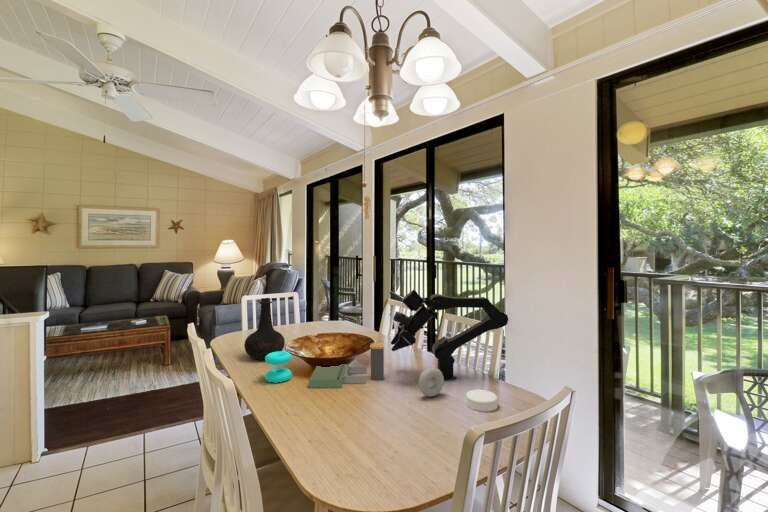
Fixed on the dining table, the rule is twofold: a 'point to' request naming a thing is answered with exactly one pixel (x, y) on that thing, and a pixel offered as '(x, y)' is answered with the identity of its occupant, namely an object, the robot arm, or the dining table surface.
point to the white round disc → (481, 400)
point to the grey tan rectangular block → (377, 361)
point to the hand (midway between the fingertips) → (391, 347)
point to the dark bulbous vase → (264, 335)
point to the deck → (336, 376)
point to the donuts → (278, 373)
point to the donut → (425, 379)
